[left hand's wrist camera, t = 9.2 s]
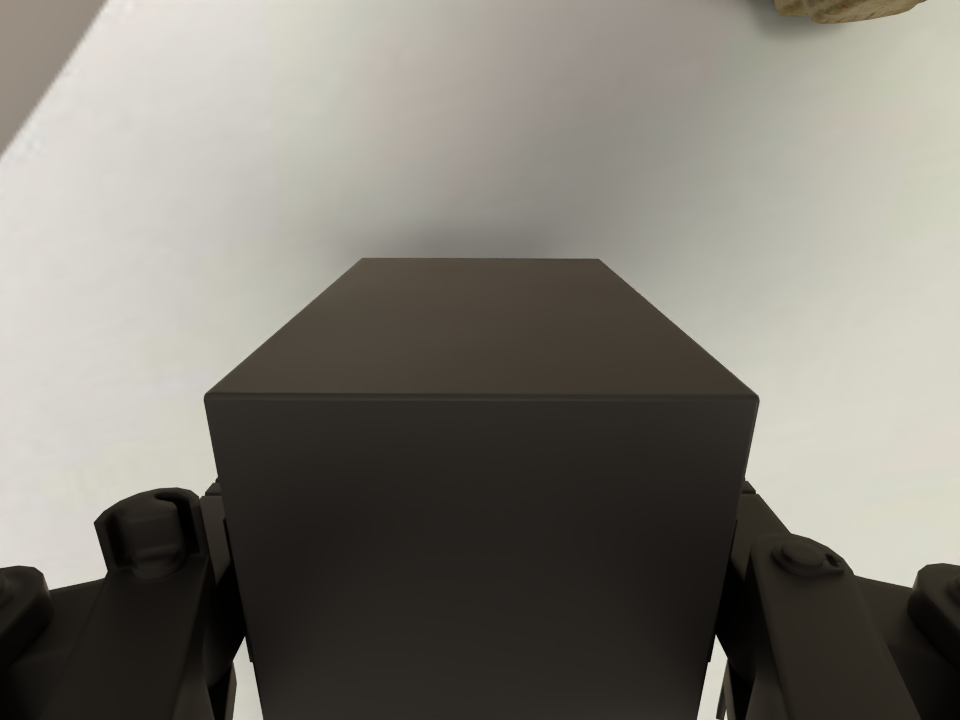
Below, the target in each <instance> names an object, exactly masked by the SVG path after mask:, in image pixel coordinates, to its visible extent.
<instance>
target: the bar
mask: <svg viewBox="0 0 960 720" xmlns="http://www.w3.org/2000/svg"><path fill="white" fill-rule="evenodd" d="M759 402H760V401H759V396H758V395H757V394H756V393H754V392H753V391H752V390H751V389H750V388H749V387H747V386H746V385H745V384H744V383H743V382H742V381H740V380H739V379H738V378H737V377H736V376H735V375H733V374H732V373H731V372H730V371H729V370H728V369H726V368H725V367H724V366H723V365H722V364H721V363H720V362H718V361H717V360H716V359H715V358H714V357H713V356H711V355H710V354H709V353H708V352H707V351H706V350H704V349H703V348H702V347H701V346H700V345H699V344H697V343H696V342H695V341H694V340H693V339H692V338H690V337H689V336H688V335H687V334H686V333H685V332H683V331H682V330H681V329H680V328H679V327H678V326H676V325H675V324H674V323H673V322H672V321H671V320H669V319H668V318H667V317H666V316H665V315H664V314H662V313H661V312H660V311H659V310H658V309H657V308H655V307H654V306H653V305H652V304H651V303H650V302H648V301H647V300H646V299H645V298H644V297H643V296H641V295H640V294H639V293H638V292H637V291H636V290H634V289H633V288H632V287H631V286H630V285H629V284H627V283H626V282H625V281H624V280H623V279H622V278H620V277H619V276H618V275H617V274H616V273H615V272H613V271H612V270H611V269H610V268H609V267H608V266H606V265H605V264H604V263H603V262H602V261H601V260H599V259H510V258H362V259H361V260H359V261H358V262H357V263H356V264H355V265H354V266H353V267H351V268H350V269H349V270H348V271H347V272H346V273H344V274H343V275H342V276H341V277H340V278H339V279H338V280H336V281H335V282H334V283H333V284H332V285H331V286H329V287H328V288H327V289H326V290H325V291H324V292H322V293H321V294H320V295H319V296H318V297H317V298H316V299H314V300H313V301H312V302H311V303H310V304H309V305H307V306H306V307H305V308H304V309H303V310H302V311H300V312H299V313H298V314H297V315H296V316H295V317H294V318H292V319H291V320H290V321H289V322H288V323H287V324H285V325H284V326H283V327H282V328H281V329H280V330H279V331H277V332H276V333H275V334H274V335H273V336H272V337H270V338H269V339H268V340H267V341H266V342H265V343H263V344H262V345H261V346H260V347H259V348H258V349H257V350H255V351H254V352H253V353H252V354H251V355H250V356H248V357H247V358H246V359H245V360H244V361H243V362H242V363H240V364H239V365H238V366H237V367H236V368H235V369H233V370H232V371H231V372H230V373H229V374H228V375H226V376H225V377H224V378H223V379H222V380H221V381H220V382H218V383H217V384H216V385H215V386H214V387H213V388H211V389H210V390H209V391H208V392H207V393H206V394H205V396H204V404H205V409H206V415H207V420H208V425H209V431H210V436H211V441H212V447H213V452H214V458H215V463H216V468H217V474H218V479H219V484H220V490H221V495H222V500H223V506H224V511H225V516H226V522H227V527H228V532H229V538H230V543H231V548H232V554H233V559H234V565H235V570H236V575H237V581H238V586H239V591H240V597H241V602H242V607H243V613H244V618H245V623H246V629H247V634H248V639H249V645H250V650H251V655H252V661H253V666H254V672H255V677H256V682H257V688H258V693H259V698H260V704H261V709H262V714H263V720H697V716H698V711H699V706H700V701H701V695H702V690H703V685H704V680H705V675H706V670H707V665H708V660H709V655H710V650H711V645H712V640H713V635H714V630H715V625H716V620H717V614H718V609H719V604H720V599H721V594H722V589H723V584H724V579H725V574H726V569H727V564H728V559H729V554H730V549H731V544H732V539H733V533H734V528H735V523H736V518H737V513H738V508H739V503H740V498H741V493H742V488H743V483H744V478H745V473H746V468H747V463H748V458H749V452H750V447H751V442H752V437H753V432H754V427H755V422H756V417H757V412H758V407H759Z"/></svg>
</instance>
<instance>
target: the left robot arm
mask: <svg viewBox="0 0 960 720" xmlns="http://www.w3.org/2000/svg"><path fill="white" fill-rule="evenodd" d="M94 526H95V529H96V532H97V536H98V539H99V543H100V546H101V550H102V553H103V557H104V560H105V563H106V567H107V570H108V572H107V574H106V576H105V578H103V579H99V580H95V581H91V582H86V583H81V584H77V585H72V586H67V587H62V588H58V589H53V590H48V587H47V584H46V581H45V578H44V575H43V573H41V572H40V571H39V570H37V569H36V568H35V567H27V566H12V567H6V568H0V720H233V711H234V703H235V694H236V686H237V681H236V674H235V669H234V664H233V659H234V657H235V655H236V653H237V651H238V649H239V647H240V645H241V643H242V641H243V639H244V637H245V638H246V644H247V649H248V654H249V659H250V662H253V661H252V655H251V650H250V645H249V639H248V634H247V629H246V623H245V618H244V613H243V607H242V602H241V597H240V591H239V586H238V581H237V575H236V570H235V565H234V559H233V554H232V548H231V543H230V538H229V532H228V527H227V522H226V516H225V511H224V506H223V500H222V495H221V490H220V484H219V479H218V477H217V479H216V482H215V483H213V484H212V485H211V486H210V487H209V488H208V490H207V491H206V492H205V496H202V497H201V498H200V499H199V496H197V495H196V494H195V493H194V492H192V491H191V490H187V489H182V488H159V489H154V490H150V491H146V492H142V493H138V494H136V495H133V496H131V497H128V498H126V499H124V500H121V501H119V502H117V503H116V504H114V505H113V506H111V507H110V508H108V509H107V510H105V511H104V512H103V513H102V514H101V515H100V516H99V517H98V518H97V519H96V521H95V522H94ZM715 635H717V637H718V639H719V642H720V644H721V646H722V648H723V650H724V652H725V654H726V656H727V658H728V659H727V664H726V669H725V673H724V678H723V683H722V688H721V693H720V697H719V702H718V707H717V714H716V719H719V720H724V716H725V712H726V710H727V718H728V720H960V566H958V565H952V564H945V563H940V564H930V565H926V566H925V567H923V568H922V569H921V570H919V571H918V573H917V576H916V579H915V582H914V585H913V588H909V587H905V586H900V585H895V584H890V583H886V582H881V581H876V580H872V579H867V578H863V577H859V576H856V575H854V573H853V571H852V570H851V568H850V567H849V566H848V564H847V563H846V562H845V560H844V559H843V558H842V557H841V556H839V555H838V554H837V553H835V552H834V551H833V550H831V549H830V548H829V547H827V546H825V545H822V544H820V543H818V542H816V541H814V540H812V539H810V538H806V537H803V536H799V535H795V534H791V533H790V532H789V530H788V529H787V528H786V527H785V526H784V524H783V523H782V522H781V521H780V520H779V518H778V517H777V516H776V515H775V514H774V512H773V511H772V510H771V509H770V507H769V506H768V505H767V504H766V503H765V501H764V500H763V499H762V498H761V497H760V495H759V494H756V490H755V489H754V488H753V487H752V486H751V484H750V483H749V482H748V481H745V478H744V483H743V488H742V493H741V498H740V503H739V508H738V513H737V518H736V523H735V528H734V533H733V539H732V544H731V549H730V554H729V559H728V564H727V569H726V574H725V579H724V584H723V589H722V594H721V599H720V604H719V609H718V614H717V620H716V625H715V630H714V635H713V640H712V645H711V650H710V655H709V660H708V662H710V661H711V656H712V651H713V645H714V640H715Z"/></svg>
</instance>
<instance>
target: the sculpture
mask: <svg viewBox="0 0 960 720" xmlns="http://www.w3.org/2000/svg"><path fill="white" fill-rule="evenodd" d="M924 1H926V0H774V4H775V7H776V10H777V12H778V13H779V14H780V15H782V16H797V17H798V16H807V15H808V16H809V17H810V18H811V20H812V21H814V22H816V23H843V22H854V21H862V20H869V19H875V18H880V17H885V16H890V15H895V14H900V13H903V12H906V11H908V10H910V9H912V8H913V7H914V6H915V5H917V4H918V3H921V2H924Z"/></svg>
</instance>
